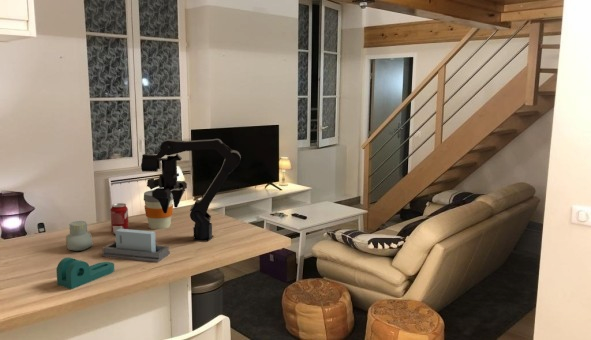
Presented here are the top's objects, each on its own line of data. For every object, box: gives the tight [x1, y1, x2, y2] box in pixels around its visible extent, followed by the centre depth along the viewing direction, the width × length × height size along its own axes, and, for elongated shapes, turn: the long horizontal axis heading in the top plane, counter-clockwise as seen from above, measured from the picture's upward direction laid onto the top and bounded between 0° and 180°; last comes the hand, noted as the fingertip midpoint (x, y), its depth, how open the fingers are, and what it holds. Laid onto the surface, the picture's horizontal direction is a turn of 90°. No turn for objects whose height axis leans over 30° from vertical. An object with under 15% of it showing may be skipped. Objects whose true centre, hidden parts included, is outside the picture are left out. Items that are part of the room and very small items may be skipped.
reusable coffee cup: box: [143, 189, 174, 230], centre depth 213 cm, size 13×13×15 cm
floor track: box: [101, 240, 171, 263], centre depth 179 cm, size 22×9×3 cm, turn 78°
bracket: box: [55, 257, 115, 290], centre depth 158 cm, size 18×7×8 cm, turn 151°
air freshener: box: [65, 220, 93, 252], centre depth 184 cm, size 11×8×10 cm
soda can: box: [109, 202, 130, 235], centre depth 203 cm, size 7×7×12 cm
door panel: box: [115, 228, 156, 252], centre depth 178 cm, size 14×3×8 cm, turn 78°
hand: (170, 210), depth 195 cm, fingers open, 9 cm apart
